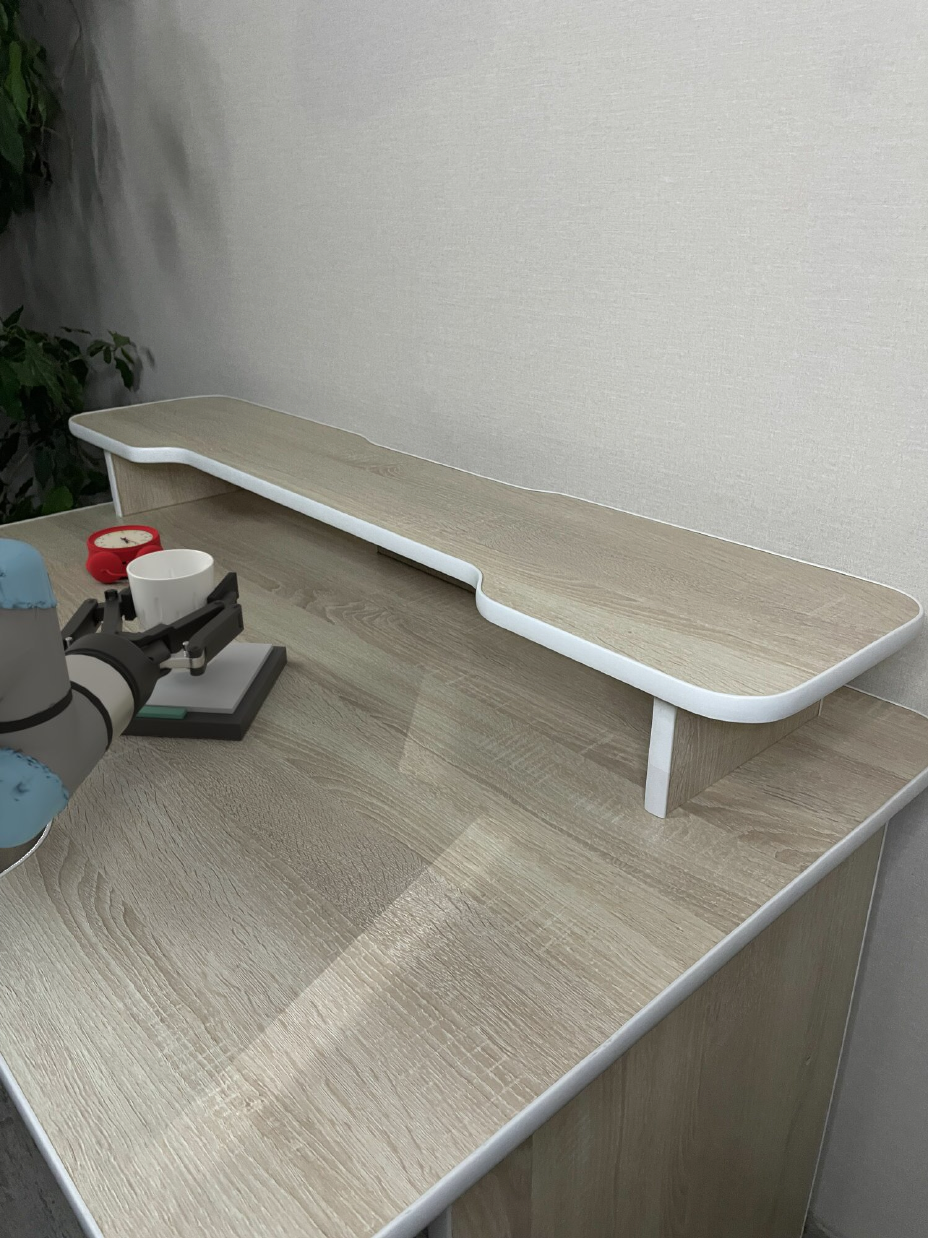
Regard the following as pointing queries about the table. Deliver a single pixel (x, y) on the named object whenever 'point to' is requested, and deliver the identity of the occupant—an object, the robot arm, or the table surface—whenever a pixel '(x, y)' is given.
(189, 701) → the scale
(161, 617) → the white cup
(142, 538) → the alarm clock
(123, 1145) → the table surface
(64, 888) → the table surface
